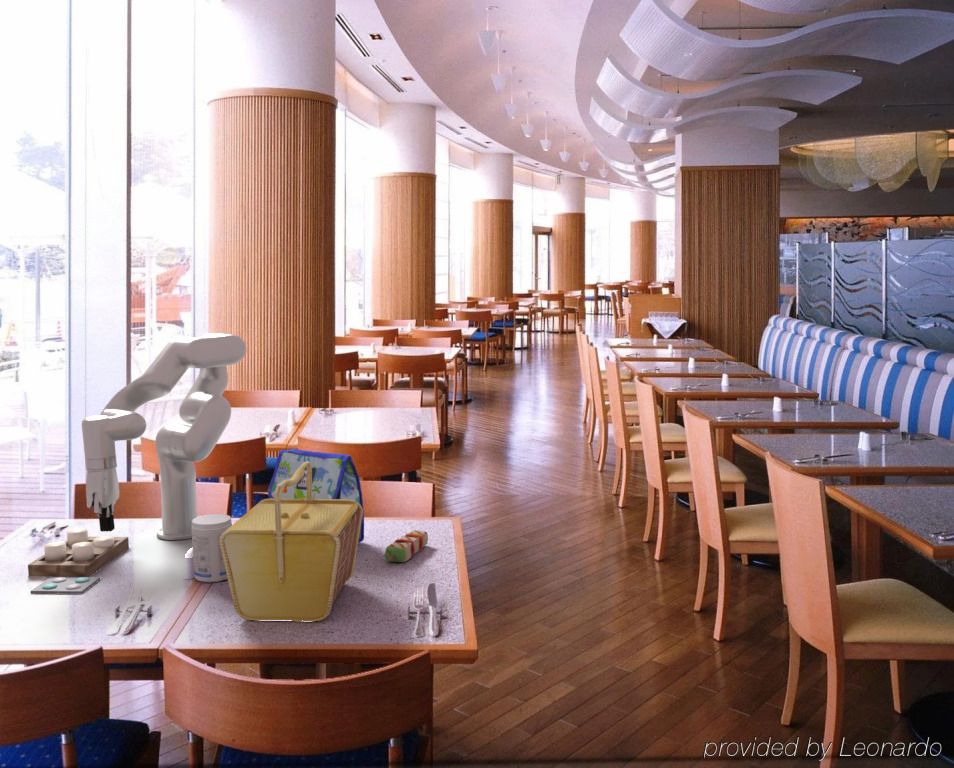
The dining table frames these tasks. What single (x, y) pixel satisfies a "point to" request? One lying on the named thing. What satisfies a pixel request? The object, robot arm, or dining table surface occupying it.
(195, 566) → the supplement tub
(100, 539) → the button
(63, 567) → the button box
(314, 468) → the lunch bag
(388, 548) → the skewer
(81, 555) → the button
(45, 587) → the tile
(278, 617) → the picnic basket
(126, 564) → the dining table surface
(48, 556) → the button
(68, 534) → the button
